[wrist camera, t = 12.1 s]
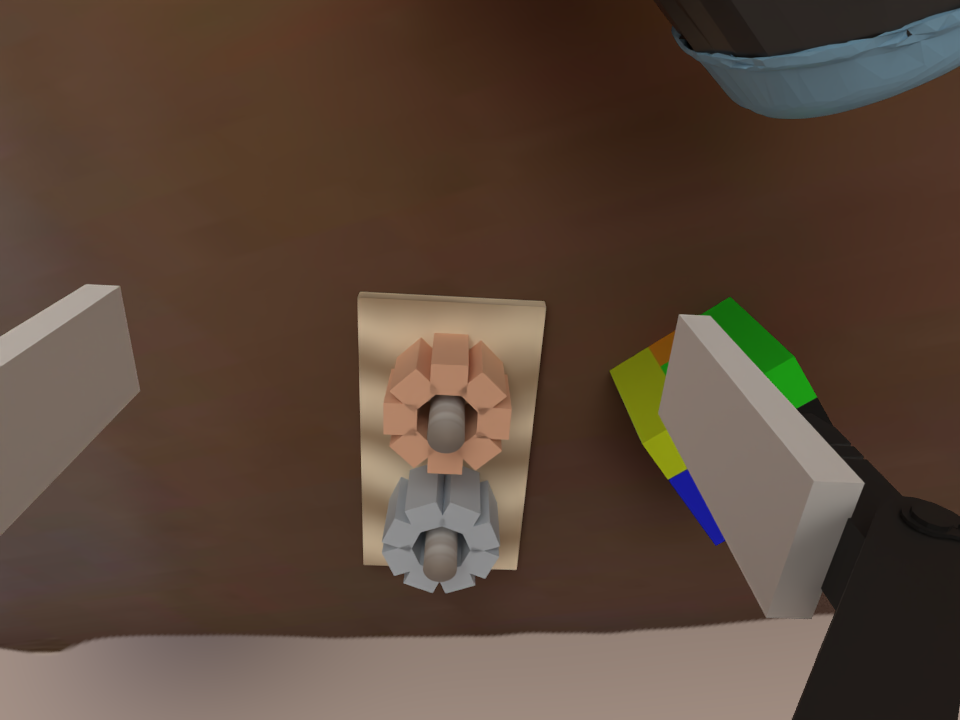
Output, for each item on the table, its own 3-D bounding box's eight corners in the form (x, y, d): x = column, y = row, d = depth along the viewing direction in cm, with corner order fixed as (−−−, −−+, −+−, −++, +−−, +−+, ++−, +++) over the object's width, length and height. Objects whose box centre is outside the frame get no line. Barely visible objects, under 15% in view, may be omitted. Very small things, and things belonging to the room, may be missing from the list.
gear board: (360, 291, 45) (339, 338, 38) (544, 301, 45) (559, 349, 38) (365, 554, 55) (349, 632, 48) (515, 559, 56) (523, 637, 48)
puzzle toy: (672, 459, 52) (715, 545, 43) (609, 370, 48) (642, 443, 39) (787, 395, 49) (858, 472, 40) (729, 296, 46) (794, 356, 37)
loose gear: (391, 330, 45) (383, 361, 40) (510, 336, 45) (515, 368, 41) (391, 432, 49) (383, 471, 44) (501, 437, 49) (505, 476, 44)
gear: (374, 480, 50) (365, 522, 46) (475, 450, 49) (476, 490, 45) (413, 557, 54) (408, 603, 49) (508, 530, 53) (512, 575, 48)
